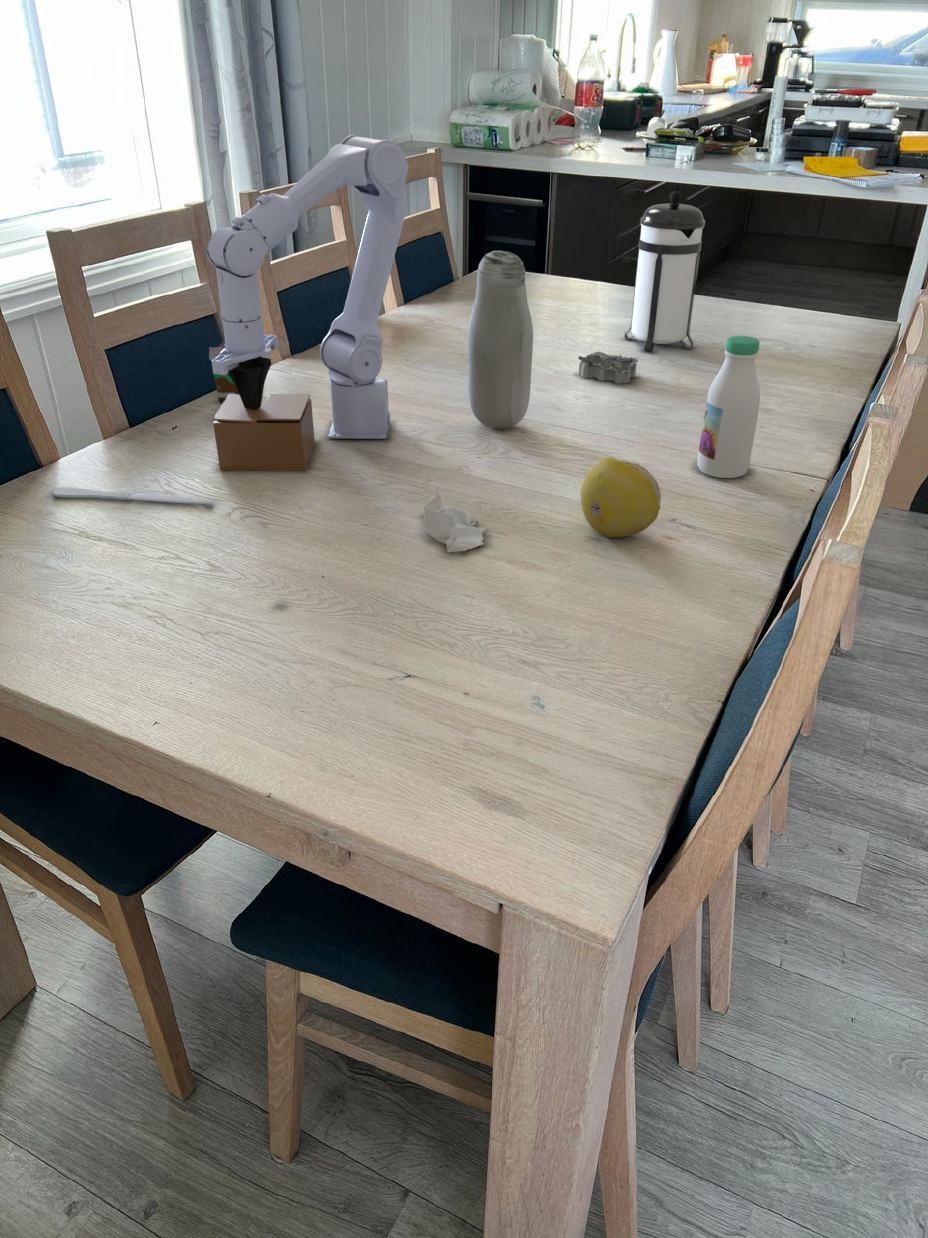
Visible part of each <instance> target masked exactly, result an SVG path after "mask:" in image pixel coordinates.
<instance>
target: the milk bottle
mask: <svg viewBox="0 0 928 1238" xmlns="http://www.w3.org/2000/svg"><path fill="white" fill-rule="evenodd" d="M759 349H760V340H759V339H758V338H756V337H753V336H748V335H732V336H729V337H728V338H726V340H725V350H724V354H725V358H724V361H723V364H722V365H721V368H720V370H719V371H718V373H717V375H715V377H714V379H713V381H712V383H711V385H710V387H709V390H708V393H707V398H706V402H705V408H704V414H703V421H702V427H701V433H700V440H699V447H698V453H697V460H696V466H697V469H698V470H699V471H700V472H701V473H703V474H705V475H708V476H711V477H714V478H720V479H735V478H740V477H743V476H744V475H745V474H746V473H747V472H748V471H749V467H750V463H751V457H752V451H753V447H754V446H753V445H754V440H755V435H756V430H757V423H758V416H759V410H760V405H761V387H760V383H759V379H758V376H757V372H756V371H757V370H756V358H757V357H758V352H759Z"/></svg>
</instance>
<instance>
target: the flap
mask: <svg viewBox="0 0 928 1238" xmlns="http://www.w3.org/2000/svg"><path fill="white" fill-rule="evenodd" d="M268 397H269V395H267V396H266V395H262V403H261V407H260V408H258V409H257V410H252V409H246V408H244V405H243V403H242V400H241V397H240V395H238V394H229V395H228V396H227V398H226V399H225V401H223V402H222V403H221V405H220V407H219V409H218V411H217V412H216V414H215V415H214V417H213V419H212V420H213V421H215V420H216V421H231V422H246V423H257V418H258V416H259V414H260V412H261V411H262V409H263V407H264V405H265V403H266V401H267V399H268Z"/></svg>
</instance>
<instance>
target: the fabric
mask: <svg viewBox="0 0 928 1238" xmlns="http://www.w3.org/2000/svg"><path fill="white" fill-rule="evenodd" d="M435 492H436V495H435V496H434V497H433V498H432V499H431V500H430V501H429V502H428V503H427V504H424V506H423V528H424V530H425V532H426V533H427V535H429V536H430V537H431V538H433V539H435V540H436V541H438V542H439V543H441V544H445V545H446V551H447V553H449V554H450V553H451V552H452V553H453V552H456V553H457V552H466V551H468V550H473V549H475V548H477V547H480V546H482V545H484V542H483V540H484V537H483V533H484V532H485V531H486V528H485V527H479V526H478V527H477V526H476V527H475V525H476V524H480V522H479V520H476V521H474V519H473V517H472V516H471V515H470V514H469V513H468V512H466V511H465V510H463V508H460V507H457V506H449V505H445V506H444V507H443V502H442V498H441V496H440V493H439V492H438V488H435Z"/></svg>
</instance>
